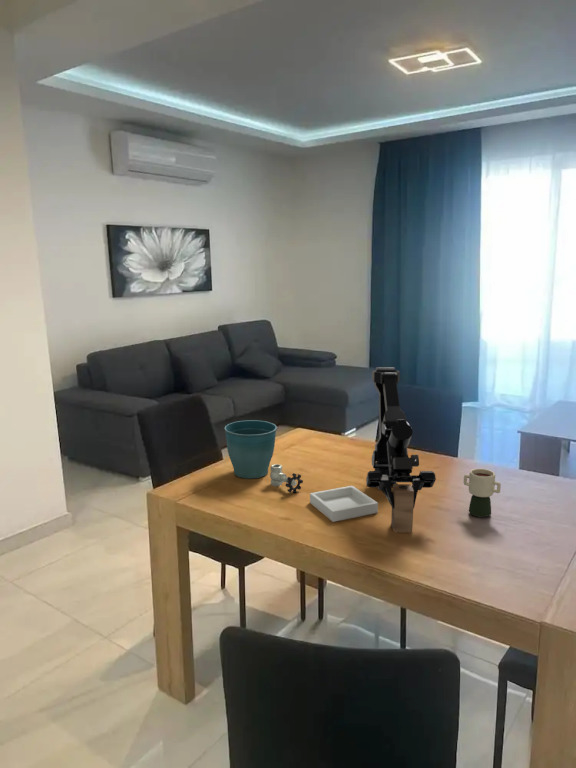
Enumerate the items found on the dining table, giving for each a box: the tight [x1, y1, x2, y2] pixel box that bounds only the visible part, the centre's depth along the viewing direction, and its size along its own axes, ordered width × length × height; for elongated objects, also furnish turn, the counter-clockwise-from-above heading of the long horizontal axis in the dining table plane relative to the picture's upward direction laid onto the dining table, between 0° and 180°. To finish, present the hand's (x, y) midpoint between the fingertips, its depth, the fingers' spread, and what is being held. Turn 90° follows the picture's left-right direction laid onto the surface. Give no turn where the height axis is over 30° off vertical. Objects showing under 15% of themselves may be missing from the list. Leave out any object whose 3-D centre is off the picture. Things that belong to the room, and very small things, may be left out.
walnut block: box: [390, 483, 414, 533], centre depth 160 cm, size 5×5×12 cm
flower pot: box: [224, 419, 278, 479], centre depth 203 cm, size 18×18×17 cm
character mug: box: [463, 468, 502, 518], centre depth 169 cm, size 11×7×13 cm, turn 50°
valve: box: [269, 463, 304, 494], centre depth 190 cm, size 7×7×12 cm
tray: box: [309, 485, 379, 523], centre depth 175 cm, size 15×15×3 cm
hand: (403, 508), depth 159 cm, fingers closed on walnut block, 5 cm apart
